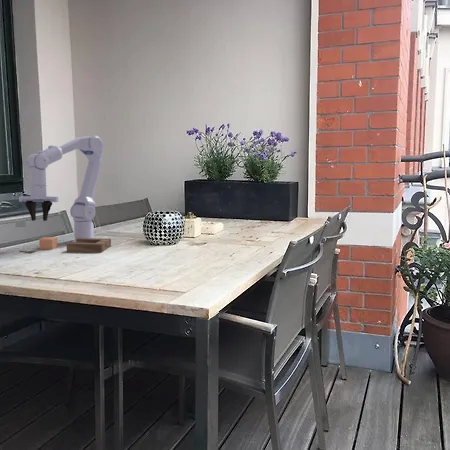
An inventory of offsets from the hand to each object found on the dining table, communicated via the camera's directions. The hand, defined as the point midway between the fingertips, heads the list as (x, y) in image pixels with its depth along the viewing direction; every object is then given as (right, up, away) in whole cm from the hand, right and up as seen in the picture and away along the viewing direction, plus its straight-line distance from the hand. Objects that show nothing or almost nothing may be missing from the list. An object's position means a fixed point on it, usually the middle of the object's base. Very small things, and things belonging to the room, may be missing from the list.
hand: (39, 220), depth 198 cm
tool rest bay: (+20, -11, -1) cm, 23 cm away
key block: (+4, -11, -1) cm, 12 cm away
